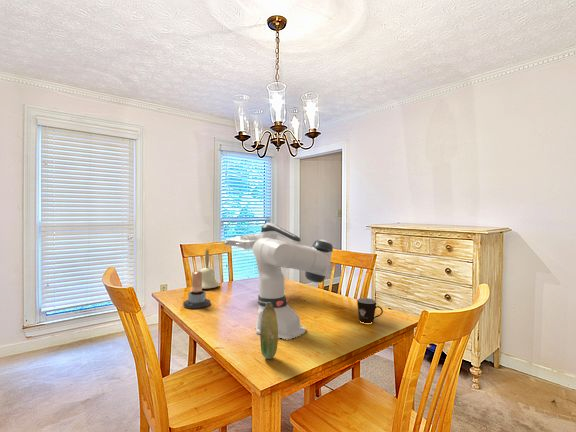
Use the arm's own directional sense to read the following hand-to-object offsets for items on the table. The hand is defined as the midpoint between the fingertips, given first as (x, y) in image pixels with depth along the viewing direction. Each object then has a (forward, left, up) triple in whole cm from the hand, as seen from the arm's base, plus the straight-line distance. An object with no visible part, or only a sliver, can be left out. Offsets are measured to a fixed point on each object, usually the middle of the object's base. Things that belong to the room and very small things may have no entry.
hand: (230, 244), depth 174 cm
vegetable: (-60, +38, -32) cm, 78 cm away
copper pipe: (+9, +16, -30) cm, 35 cm away
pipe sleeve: (+9, +16, -32) cm, 37 cm away
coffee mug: (-74, -16, -32) cm, 82 cm away
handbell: (+33, -10, -32) cm, 47 cm away
